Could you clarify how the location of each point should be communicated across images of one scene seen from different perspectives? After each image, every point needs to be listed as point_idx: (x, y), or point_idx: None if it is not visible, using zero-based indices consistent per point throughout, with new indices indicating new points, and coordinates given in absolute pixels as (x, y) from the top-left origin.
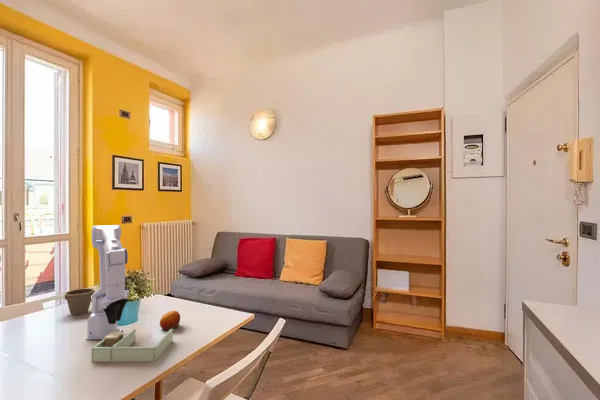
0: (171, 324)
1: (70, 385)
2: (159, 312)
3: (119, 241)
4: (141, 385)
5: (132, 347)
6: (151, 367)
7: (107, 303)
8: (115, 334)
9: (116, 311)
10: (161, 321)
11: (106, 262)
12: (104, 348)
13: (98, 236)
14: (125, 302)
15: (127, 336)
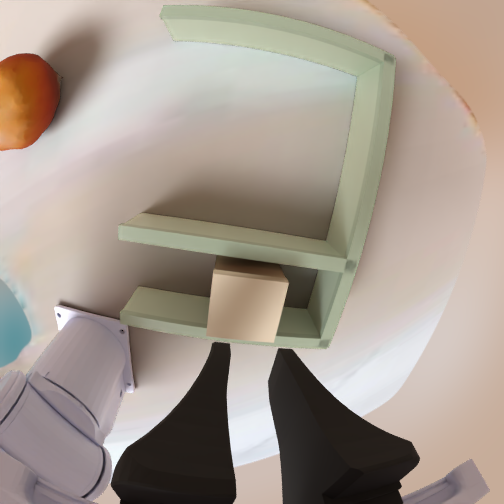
0: (50, 75)
1: (424, 301)
2: None
3: None
4: (469, 114)
5: (376, 163)
6: (400, 85)
7: (471, 491)
8: (245, 304)
9: (353, 418)
10: (30, 125)
11: None
12: (347, 297)
13: None
14: (194, 460)
15: (215, 237)
